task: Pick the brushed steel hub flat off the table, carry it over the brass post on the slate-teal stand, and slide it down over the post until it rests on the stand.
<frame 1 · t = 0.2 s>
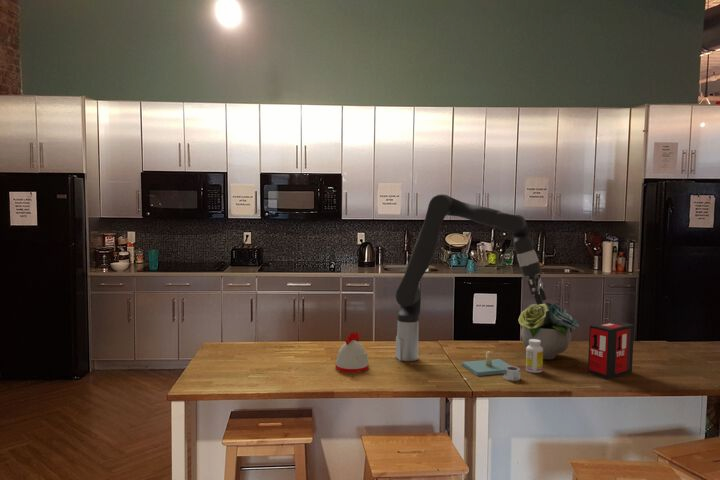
hand: (542, 302, 212), 30 cm above the kitchen island, tool tilted 20°, fingers open, 8 cm apart
cleaning product box: (609, 373, 220), on the kitchen island
grey beanie hat: (352, 368, 225), on the kitchen island
supplement bottle: (534, 371, 222), on the kitchen island
steel hub: (511, 378, 213), on the kitchen island
post stand: (488, 368, 224), on the kitchen island
flower arrangement: (544, 357, 242), on the kitchen island
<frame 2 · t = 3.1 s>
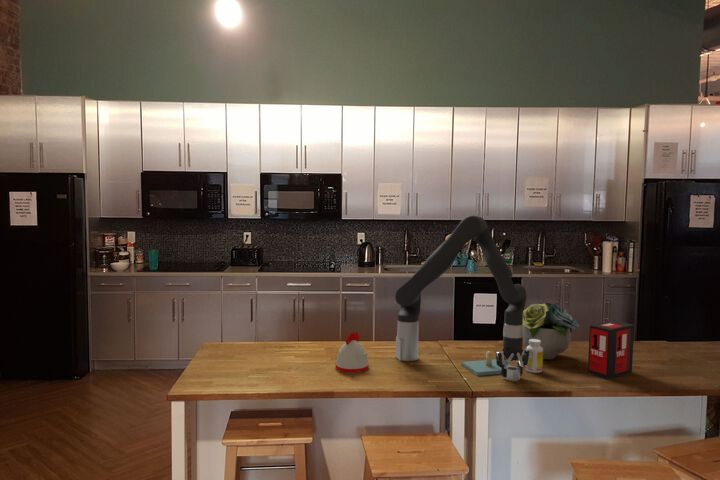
hand: (511, 376, 213), 1 cm above the kitchen island, tool pointing down, fingers closed on steel hub, 6 cm apart
steel hub: (511, 378, 213), on the kitchen island, touching gripper
everything else where it was.
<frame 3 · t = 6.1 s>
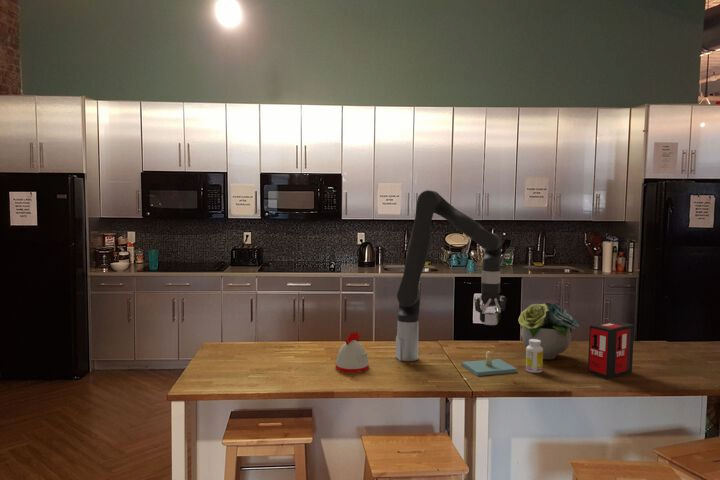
hand: (489, 321, 223), 20 cm above the kitchen island, tool pointing down, fingers closed on steel hub, 6 cm apart
steel hub: (489, 323, 223), point 19 cm above the kitchen island, touching gripper
everything else where it was.
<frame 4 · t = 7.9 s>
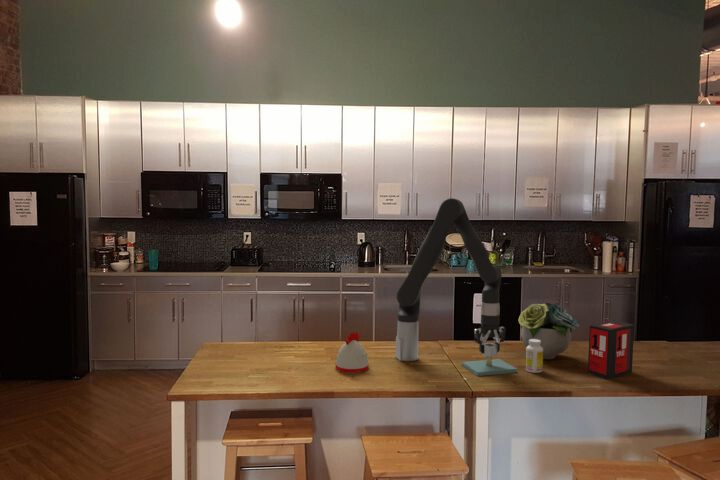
hand: (489, 352, 224), 7 cm above the kitchen island, tool pointing down, fingers closed on steel hub, 6 cm apart
steel hub: (489, 354, 224), point 6 cm above the kitchen island, touching gripper
everything else where it was.
when the fingers open (3 cm above the kitchen island, at t = 9.3 s): steel hub stays where it is, resting on post stand.
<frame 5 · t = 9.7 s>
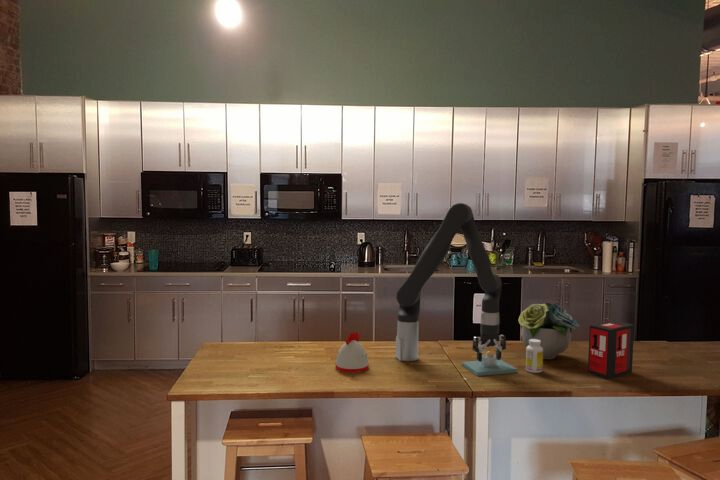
hand: (488, 360, 224), 4 cm above the kitchen island, tool pointing down, fingers open, 8 cm apart
steel hub: (488, 365, 224), point 1 cm above the kitchen island, touching post stand
everything else where it was.
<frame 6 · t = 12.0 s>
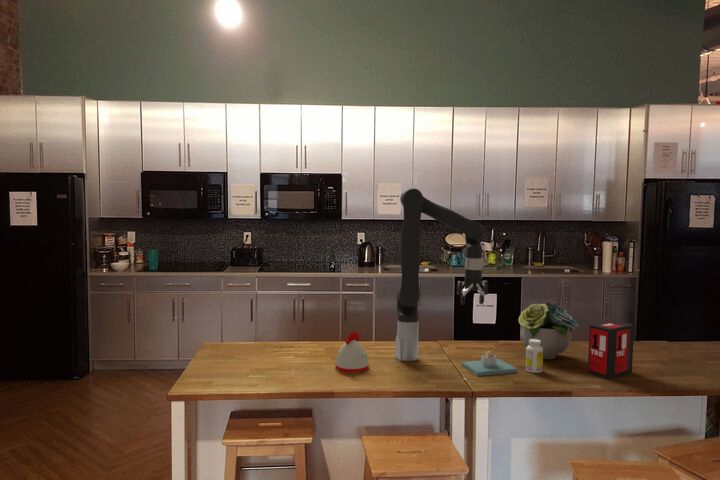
hand: (472, 304, 238), 24 cm above the kitchen island, tool pointing down, fingers open, 8 cm apart
nothing on the kitchen island moved.
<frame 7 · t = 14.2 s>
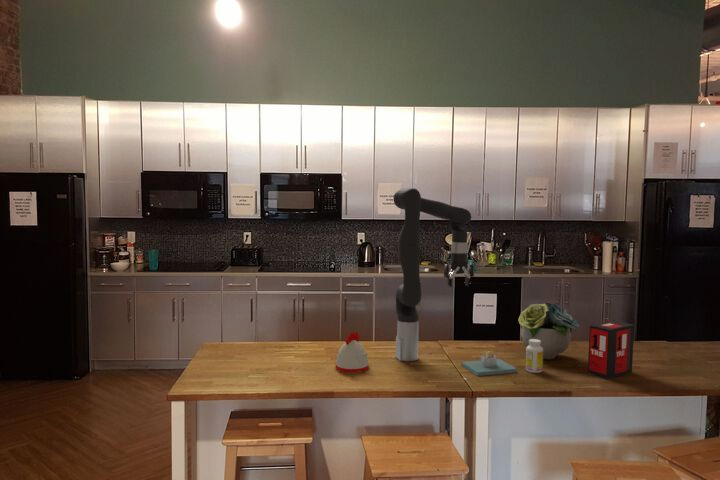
hand: (458, 286, 251), 30 cm above the kitchen island, tool pointing down, fingers open, 8 cm apart
nothing on the kitchen island moved.
at the end: steel hub 0.0 cm off-centre on the post stand, point 1.5 cm above the post stand's base; the gripper is holding nothing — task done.
